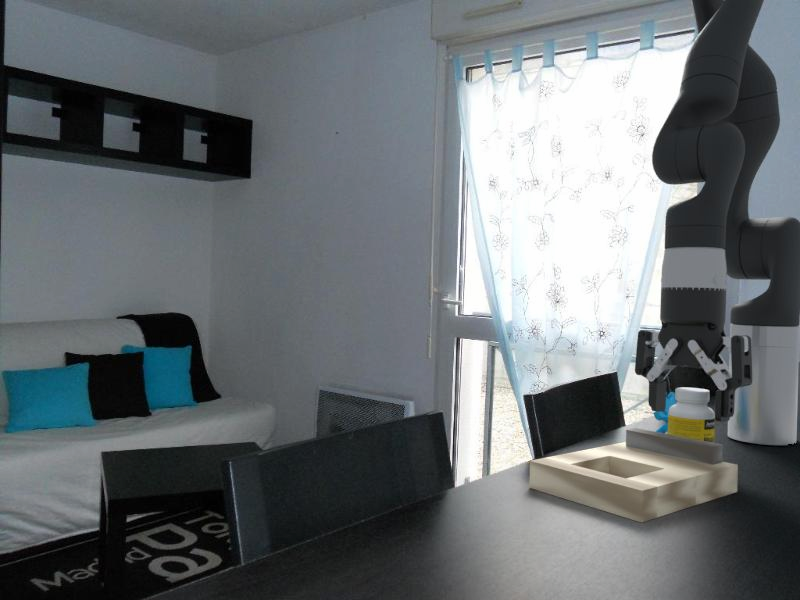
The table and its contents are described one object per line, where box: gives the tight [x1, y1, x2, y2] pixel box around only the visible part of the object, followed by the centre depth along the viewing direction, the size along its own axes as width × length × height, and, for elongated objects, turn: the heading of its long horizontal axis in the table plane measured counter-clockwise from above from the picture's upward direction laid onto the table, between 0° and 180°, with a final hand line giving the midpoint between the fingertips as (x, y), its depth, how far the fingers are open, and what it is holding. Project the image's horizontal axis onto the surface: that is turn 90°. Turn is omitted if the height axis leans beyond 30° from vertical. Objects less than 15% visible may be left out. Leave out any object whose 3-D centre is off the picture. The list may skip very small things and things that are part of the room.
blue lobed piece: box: [648, 391, 677, 434], centre depth 104 cm, size 11×6×10 cm
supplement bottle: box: [667, 386, 716, 443], centre depth 88 cm, size 5×5×10 cm
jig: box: [528, 427, 739, 523], centre depth 77 cm, size 18×14×5 cm
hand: (688, 415), depth 88 cm, fingers open, 8 cm apart
